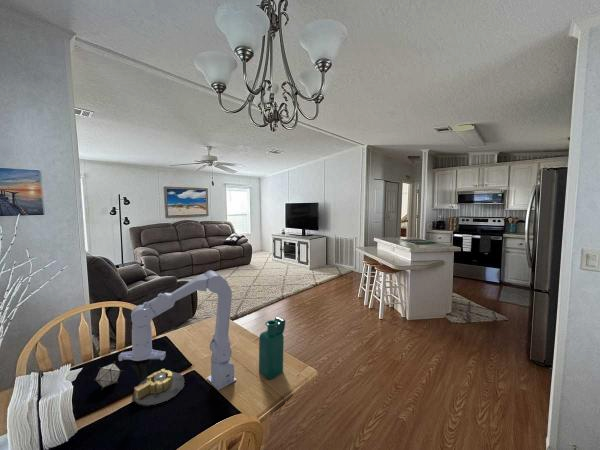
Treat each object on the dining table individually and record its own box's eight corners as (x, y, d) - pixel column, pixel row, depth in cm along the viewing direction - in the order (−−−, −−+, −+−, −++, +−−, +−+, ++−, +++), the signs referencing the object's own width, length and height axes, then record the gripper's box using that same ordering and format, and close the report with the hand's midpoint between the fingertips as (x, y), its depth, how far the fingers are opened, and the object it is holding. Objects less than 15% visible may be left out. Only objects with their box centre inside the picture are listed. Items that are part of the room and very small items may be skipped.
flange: (192, 388, 98) (191, 376, 98) (141, 414, 86) (141, 400, 86) (174, 368, 110) (174, 357, 110) (127, 388, 98) (127, 376, 97)
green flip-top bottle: (269, 381, 104) (270, 328, 102) (256, 371, 109) (257, 321, 108) (287, 370, 111) (288, 321, 109) (274, 362, 116) (275, 314, 115)
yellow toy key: (142, 403, 89) (142, 393, 88) (130, 393, 93) (130, 383, 93) (177, 383, 99) (177, 374, 99) (164, 374, 104) (164, 365, 104)
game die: (111, 390, 102) (123, 362, 107) (117, 392, 96) (130, 362, 102) (85, 388, 97) (99, 358, 102) (90, 390, 91) (105, 359, 97)
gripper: (169, 334, 92) (169, 371, 93) (126, 335, 91) (128, 371, 92) (159, 345, 85) (160, 384, 86) (113, 346, 84) (115, 385, 85)
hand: (143, 379), depth 89 cm, fingers closed
